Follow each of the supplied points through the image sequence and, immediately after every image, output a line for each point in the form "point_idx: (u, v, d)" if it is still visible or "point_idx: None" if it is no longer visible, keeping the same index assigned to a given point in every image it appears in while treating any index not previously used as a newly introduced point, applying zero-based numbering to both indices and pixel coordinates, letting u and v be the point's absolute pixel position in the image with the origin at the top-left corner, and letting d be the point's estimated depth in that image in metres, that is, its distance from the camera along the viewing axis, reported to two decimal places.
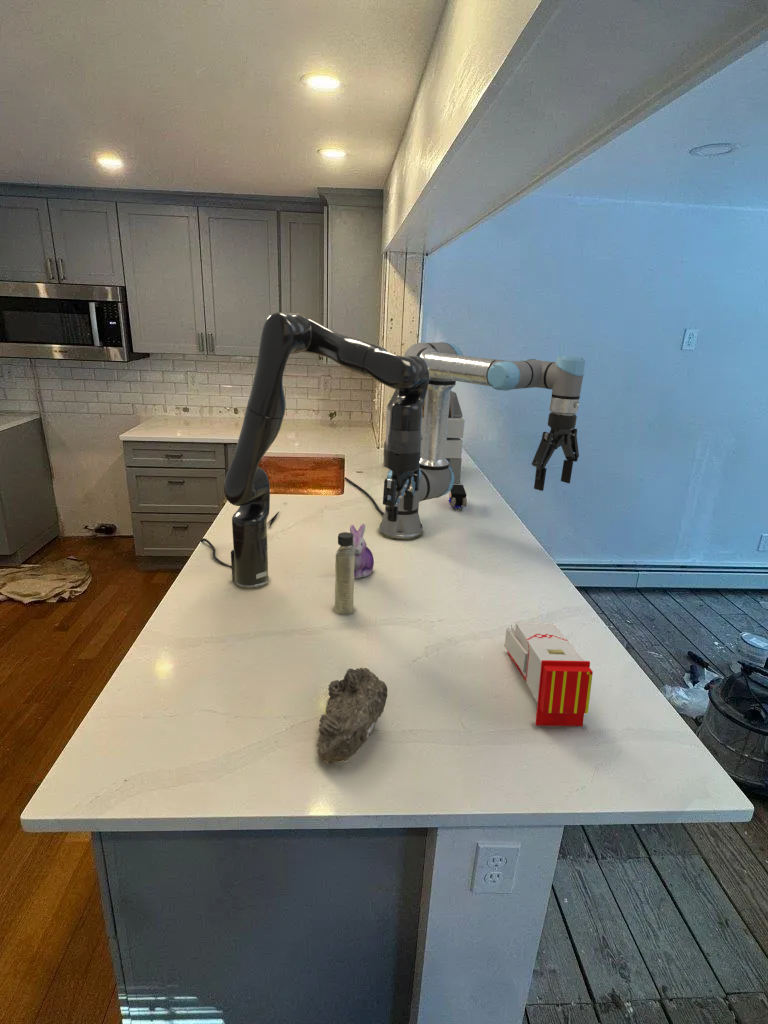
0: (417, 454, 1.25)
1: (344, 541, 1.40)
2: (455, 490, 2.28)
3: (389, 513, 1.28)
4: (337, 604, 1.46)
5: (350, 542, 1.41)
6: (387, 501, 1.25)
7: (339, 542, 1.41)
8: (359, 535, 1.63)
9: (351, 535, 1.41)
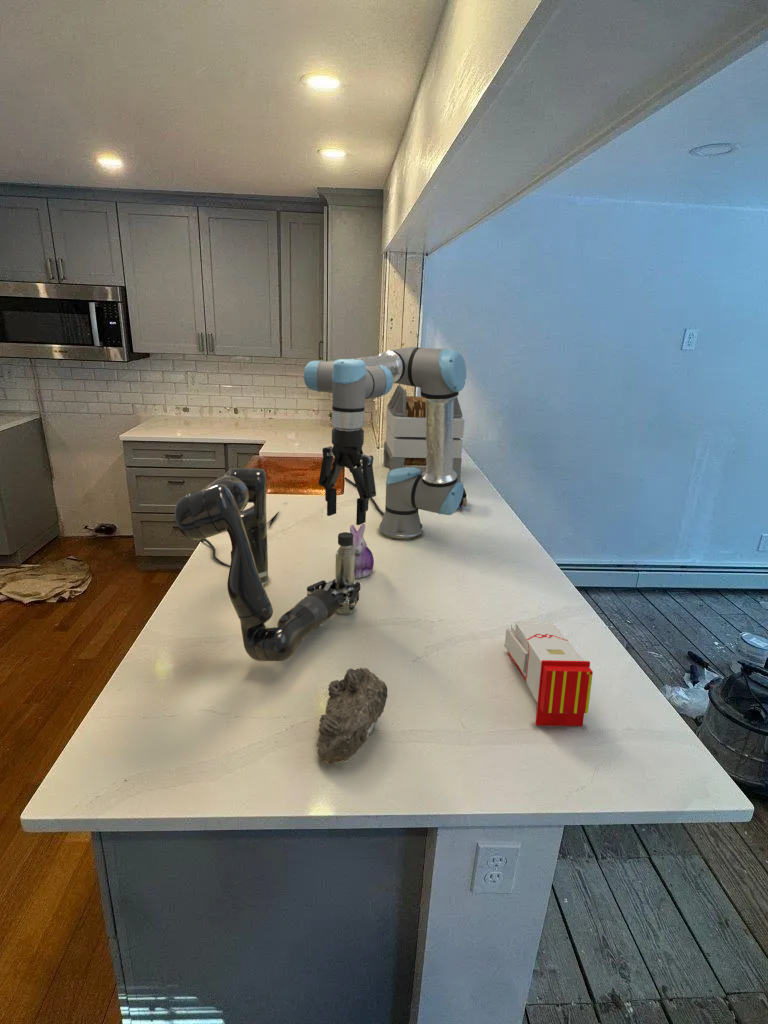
0: None
1: (344, 541, 1.40)
2: None
3: None
4: None
5: (350, 542, 1.41)
6: (321, 585, 1.46)
7: (339, 542, 1.41)
8: (359, 535, 1.63)
9: (351, 535, 1.41)
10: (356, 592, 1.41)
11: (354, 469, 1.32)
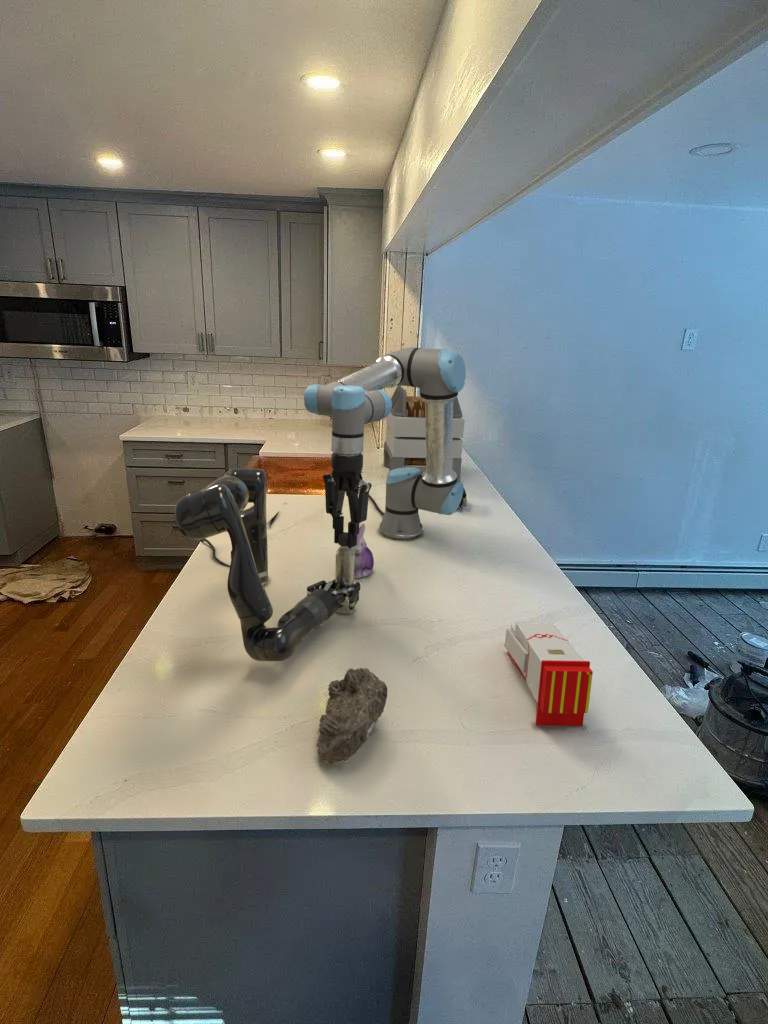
0: None
1: (344, 541, 1.40)
2: None
3: None
4: None
5: None
6: None
7: (339, 542, 1.41)
8: (359, 535, 1.63)
9: None
10: (356, 592, 1.41)
11: (351, 494, 1.35)
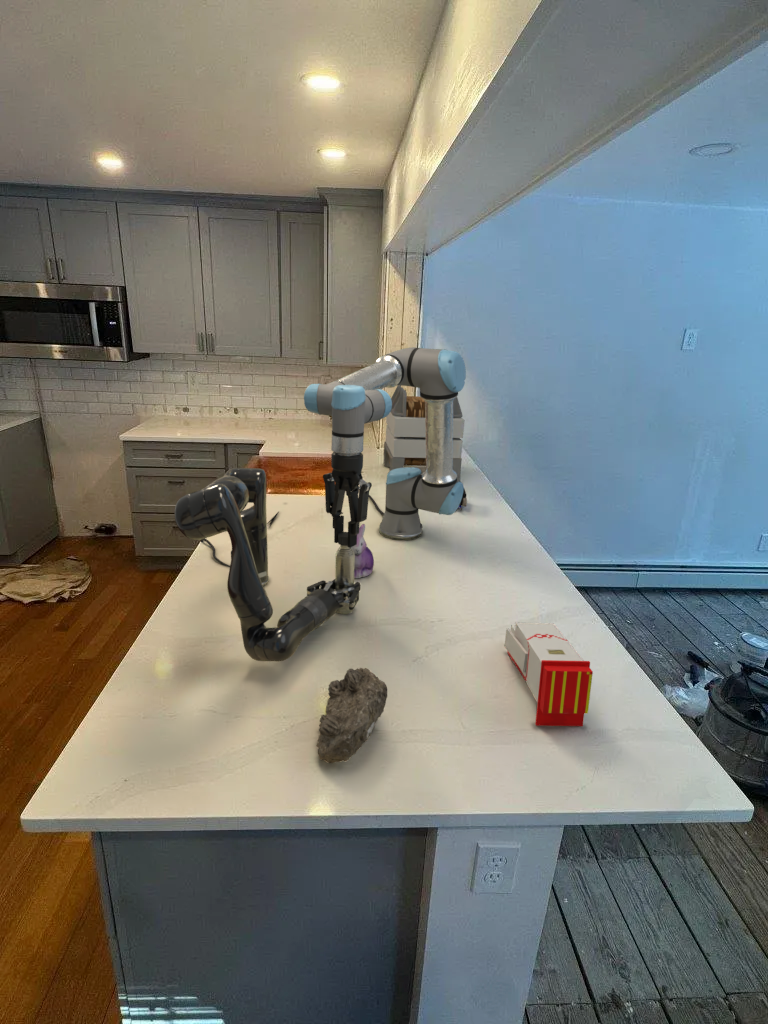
0: None
1: None
2: None
3: None
4: None
5: None
6: (321, 585, 1.46)
7: None
8: (359, 535, 1.63)
9: (342, 532, 1.42)
10: (356, 592, 1.41)
11: (351, 494, 1.35)
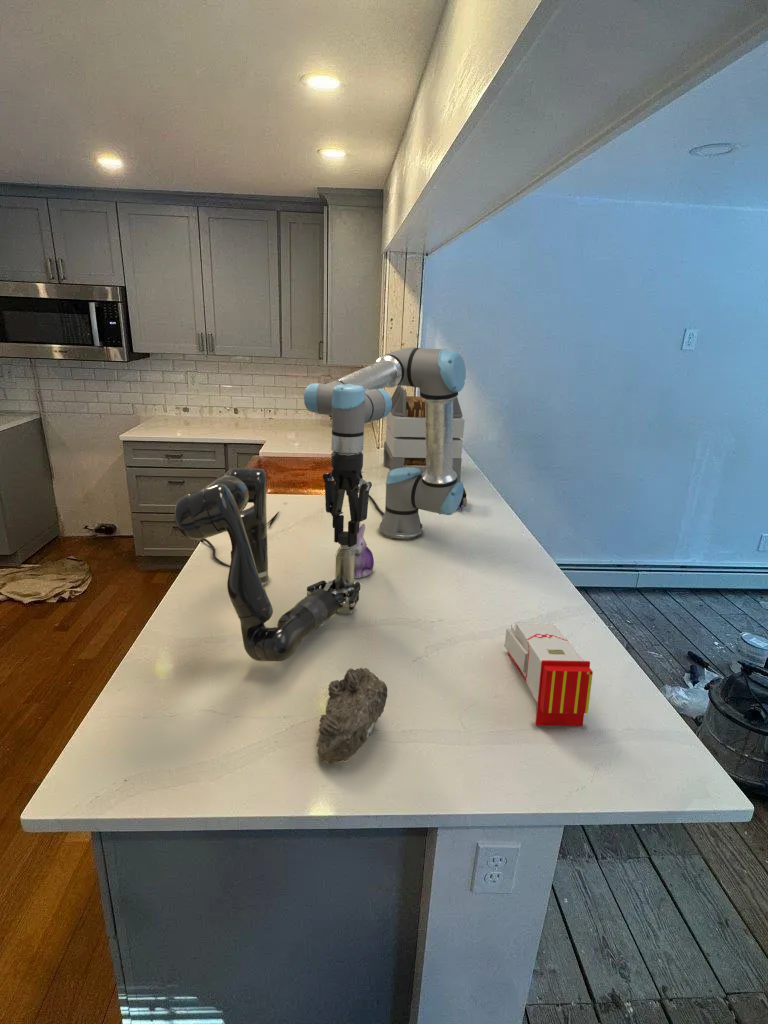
0: None
1: None
2: None
3: None
4: None
5: (338, 540, 1.41)
6: (321, 585, 1.46)
7: None
8: (359, 535, 1.63)
9: (343, 536, 1.40)
10: (356, 592, 1.41)
11: (351, 493, 1.35)
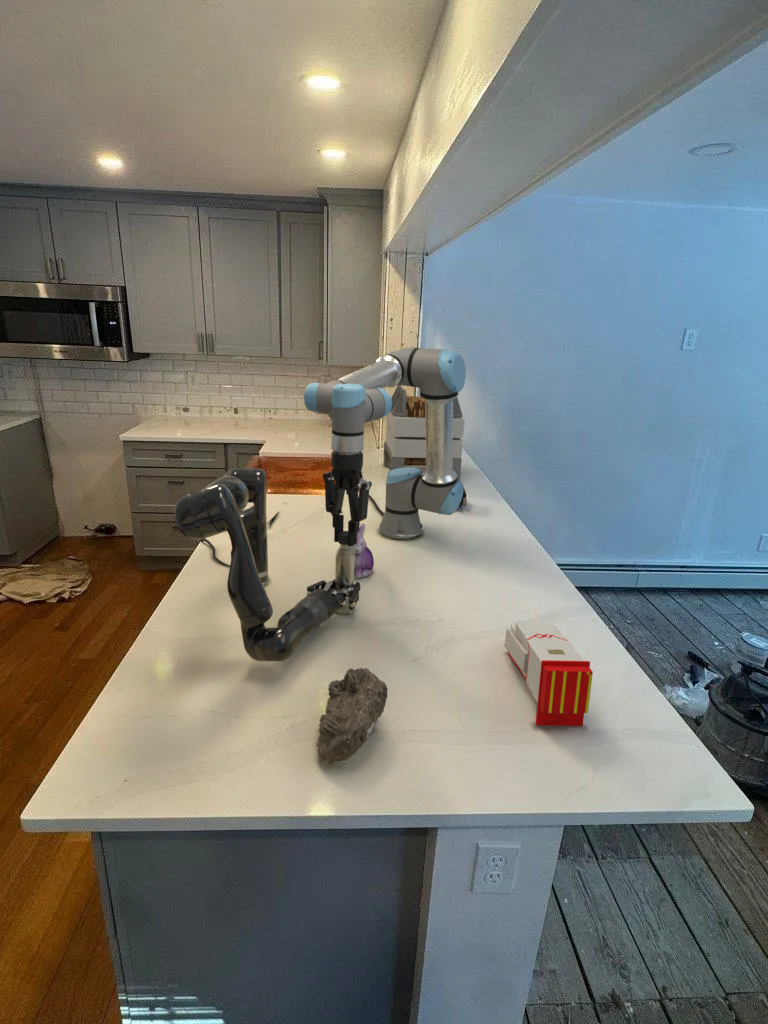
0: None
1: (347, 540, 1.40)
2: None
3: None
4: None
5: None
6: (321, 585, 1.46)
7: (341, 541, 1.40)
8: (359, 535, 1.63)
9: None
10: (356, 592, 1.41)
11: (351, 493, 1.35)
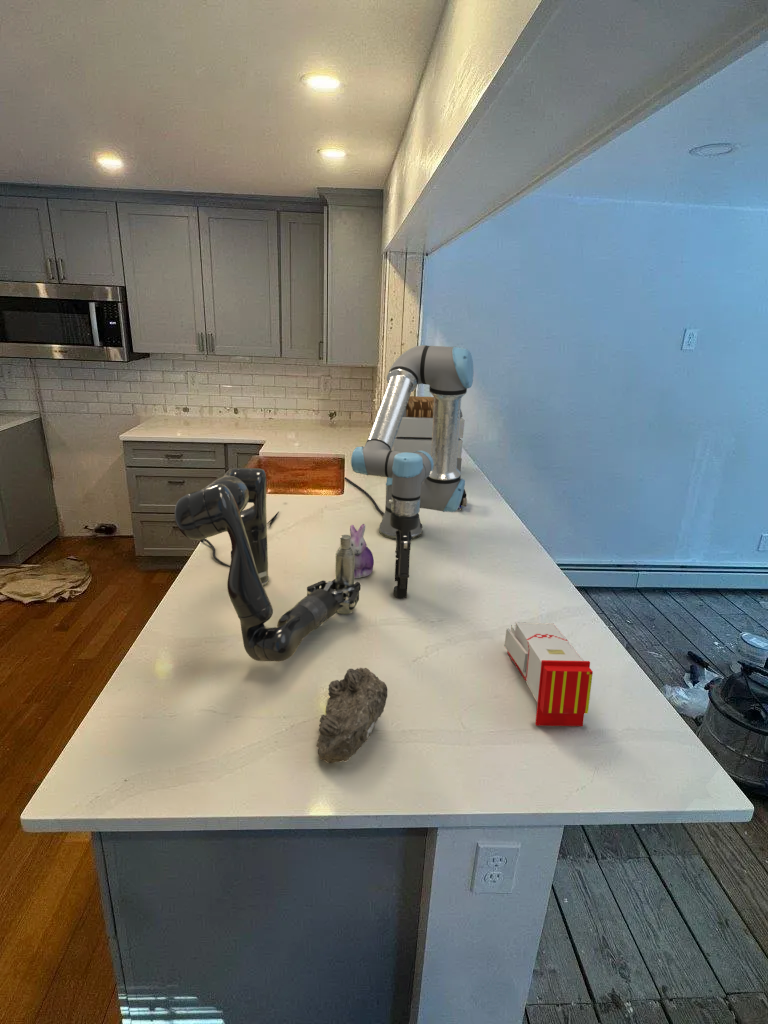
0: None
1: None
2: None
3: None
4: None
5: None
6: None
7: None
8: (359, 535, 1.63)
9: (396, 586, 1.57)
10: (356, 592, 1.41)
11: None
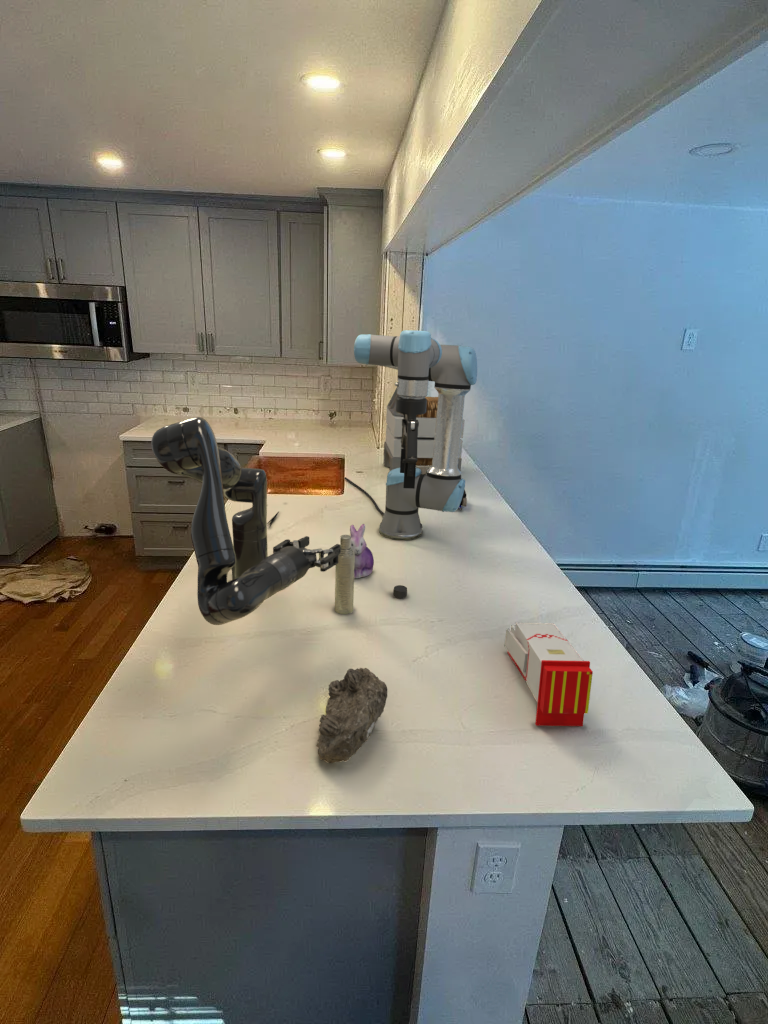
0: None
1: None
2: None
3: None
4: (337, 604, 1.46)
5: None
6: None
7: (406, 593, 1.57)
8: (359, 535, 1.63)
9: (396, 586, 1.57)
10: (333, 554, 1.24)
11: None
